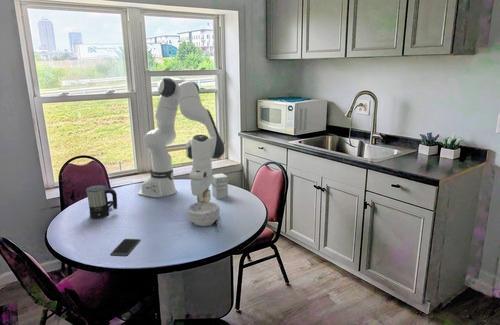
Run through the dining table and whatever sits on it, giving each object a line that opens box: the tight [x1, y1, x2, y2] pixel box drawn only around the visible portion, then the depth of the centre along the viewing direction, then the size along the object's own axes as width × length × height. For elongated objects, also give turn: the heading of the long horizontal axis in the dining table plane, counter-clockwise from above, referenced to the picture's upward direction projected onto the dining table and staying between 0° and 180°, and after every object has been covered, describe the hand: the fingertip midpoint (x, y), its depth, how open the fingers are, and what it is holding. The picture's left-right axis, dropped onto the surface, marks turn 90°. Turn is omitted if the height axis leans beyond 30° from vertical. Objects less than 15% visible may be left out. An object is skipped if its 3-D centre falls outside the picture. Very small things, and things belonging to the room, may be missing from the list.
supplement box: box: [211, 173, 229, 200], centre depth 203 cm, size 7×7×13 cm
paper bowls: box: [187, 201, 221, 227], centre depth 169 cm, size 15×15×8 cm
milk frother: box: [85, 184, 118, 220], centre depth 181 cm, size 14×16×15 cm
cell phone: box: [110, 238, 141, 257], centre depth 147 cm, size 7×14×1 cm, turn 174°
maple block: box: [196, 189, 212, 203], centre depth 167 cm, size 5×5×5 cm
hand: (203, 198), depth 167 cm, fingers closed on maple block, 5 cm apart
